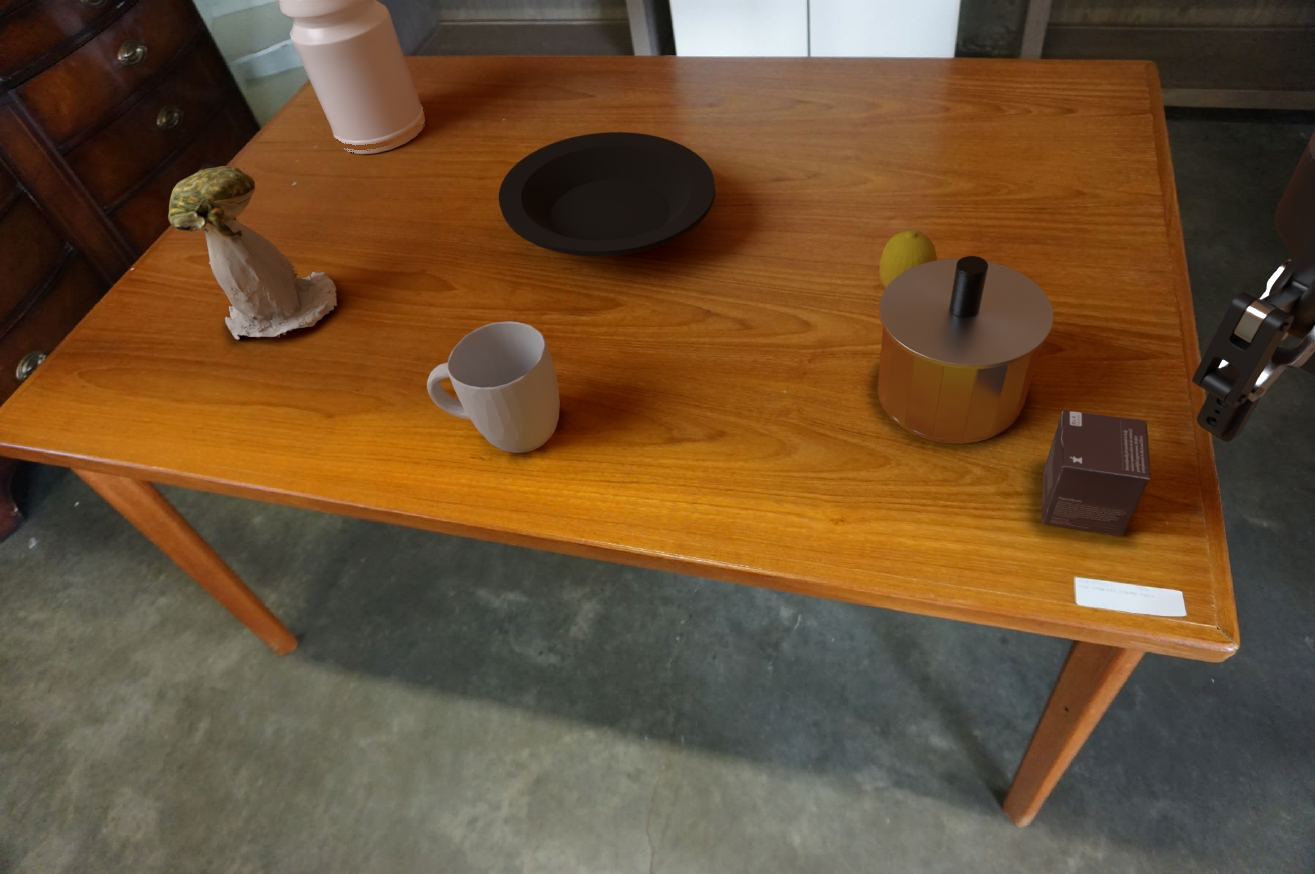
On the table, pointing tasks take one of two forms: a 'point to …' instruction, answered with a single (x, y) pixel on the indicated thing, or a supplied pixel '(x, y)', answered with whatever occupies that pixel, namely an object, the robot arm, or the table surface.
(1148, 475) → the box
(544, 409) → the mug
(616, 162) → the plate
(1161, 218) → the table surface
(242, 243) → the mushroom
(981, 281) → the pot lid
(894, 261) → the lemon
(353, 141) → the bottle
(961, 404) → the pot
